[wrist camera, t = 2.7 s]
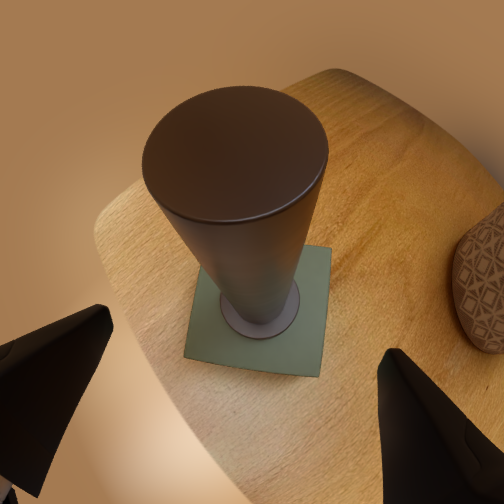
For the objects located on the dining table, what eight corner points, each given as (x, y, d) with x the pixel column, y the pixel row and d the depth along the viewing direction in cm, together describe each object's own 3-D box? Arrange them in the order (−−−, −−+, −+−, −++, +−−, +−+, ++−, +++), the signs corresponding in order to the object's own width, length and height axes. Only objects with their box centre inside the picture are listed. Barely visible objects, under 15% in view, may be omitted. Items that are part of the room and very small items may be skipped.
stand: (308, 372, 19) (319, 377, 14) (200, 356, 19) (182, 357, 15) (320, 268, 21) (332, 247, 17) (219, 256, 22) (207, 232, 18)
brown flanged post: (273, 353, 15) (293, 367, 3) (208, 314, 16) (53, 198, 4) (311, 289, 16) (407, 116, 4) (248, 254, 17) (206, 50, 5)
